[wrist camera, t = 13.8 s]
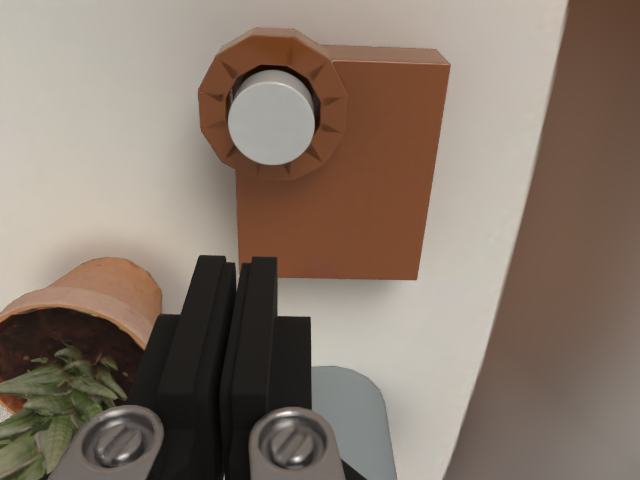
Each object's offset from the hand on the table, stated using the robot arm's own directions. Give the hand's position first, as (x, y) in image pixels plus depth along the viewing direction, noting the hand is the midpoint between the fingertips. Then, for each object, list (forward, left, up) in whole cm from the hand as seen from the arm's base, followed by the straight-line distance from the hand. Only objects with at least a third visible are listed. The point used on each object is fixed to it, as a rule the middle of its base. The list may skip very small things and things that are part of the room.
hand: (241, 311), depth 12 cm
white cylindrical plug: (0, 0, -15) cm, 15 cm away
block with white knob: (+4, +3, -19) cm, 20 cm away
